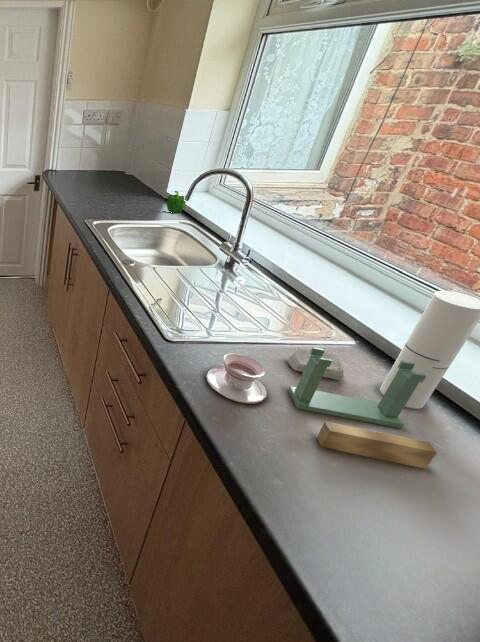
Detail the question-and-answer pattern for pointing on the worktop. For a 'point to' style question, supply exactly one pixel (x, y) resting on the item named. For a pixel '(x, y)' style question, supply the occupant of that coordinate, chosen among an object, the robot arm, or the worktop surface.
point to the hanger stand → (351, 406)
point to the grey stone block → (302, 356)
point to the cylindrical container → (436, 341)
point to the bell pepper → (175, 203)
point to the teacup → (238, 379)
